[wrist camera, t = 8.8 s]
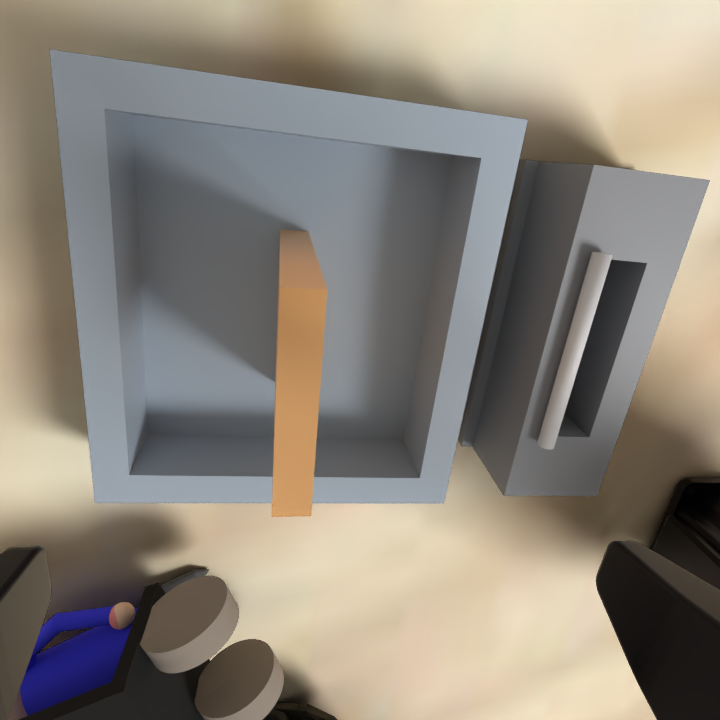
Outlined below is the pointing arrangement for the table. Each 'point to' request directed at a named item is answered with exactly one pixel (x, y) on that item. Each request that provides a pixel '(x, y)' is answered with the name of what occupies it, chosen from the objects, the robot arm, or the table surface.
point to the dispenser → (573, 320)
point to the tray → (273, 275)
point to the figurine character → (152, 661)
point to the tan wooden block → (297, 373)
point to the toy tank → (297, 712)
